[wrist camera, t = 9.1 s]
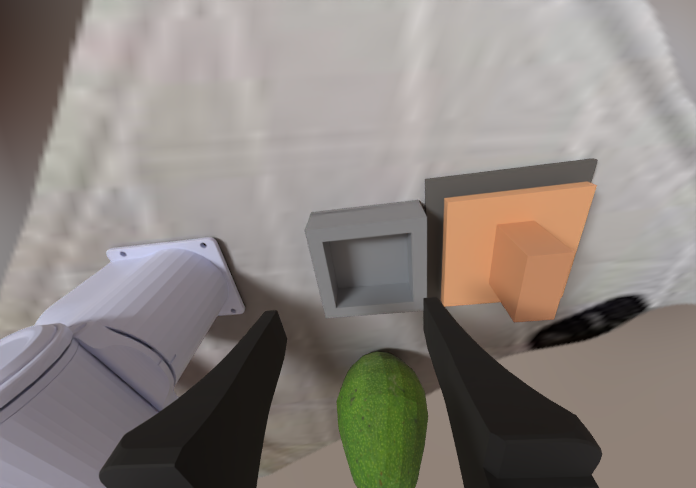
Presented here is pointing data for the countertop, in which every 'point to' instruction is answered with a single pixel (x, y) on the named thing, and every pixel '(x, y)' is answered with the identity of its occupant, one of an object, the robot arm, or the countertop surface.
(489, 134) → the countertop surface
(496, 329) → the countertop surface
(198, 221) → the countertop surface
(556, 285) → the lid
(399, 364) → the avocado
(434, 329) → the robot arm
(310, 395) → the countertop surface
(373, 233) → the box
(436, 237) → the mat
